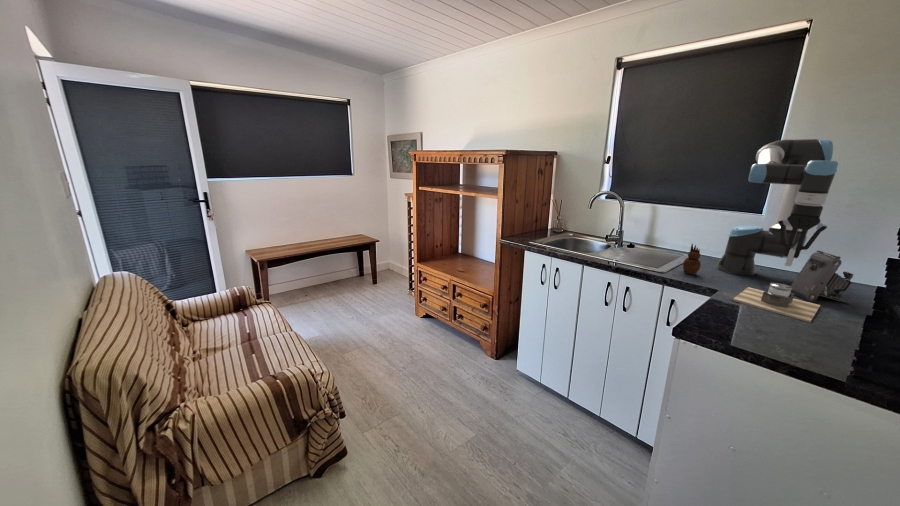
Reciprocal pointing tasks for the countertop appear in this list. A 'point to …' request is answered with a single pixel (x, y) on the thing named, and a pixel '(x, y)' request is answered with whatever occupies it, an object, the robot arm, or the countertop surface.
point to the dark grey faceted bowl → (777, 299)
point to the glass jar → (780, 289)
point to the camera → (821, 278)
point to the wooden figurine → (692, 261)
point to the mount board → (794, 309)
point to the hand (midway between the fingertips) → (788, 265)
